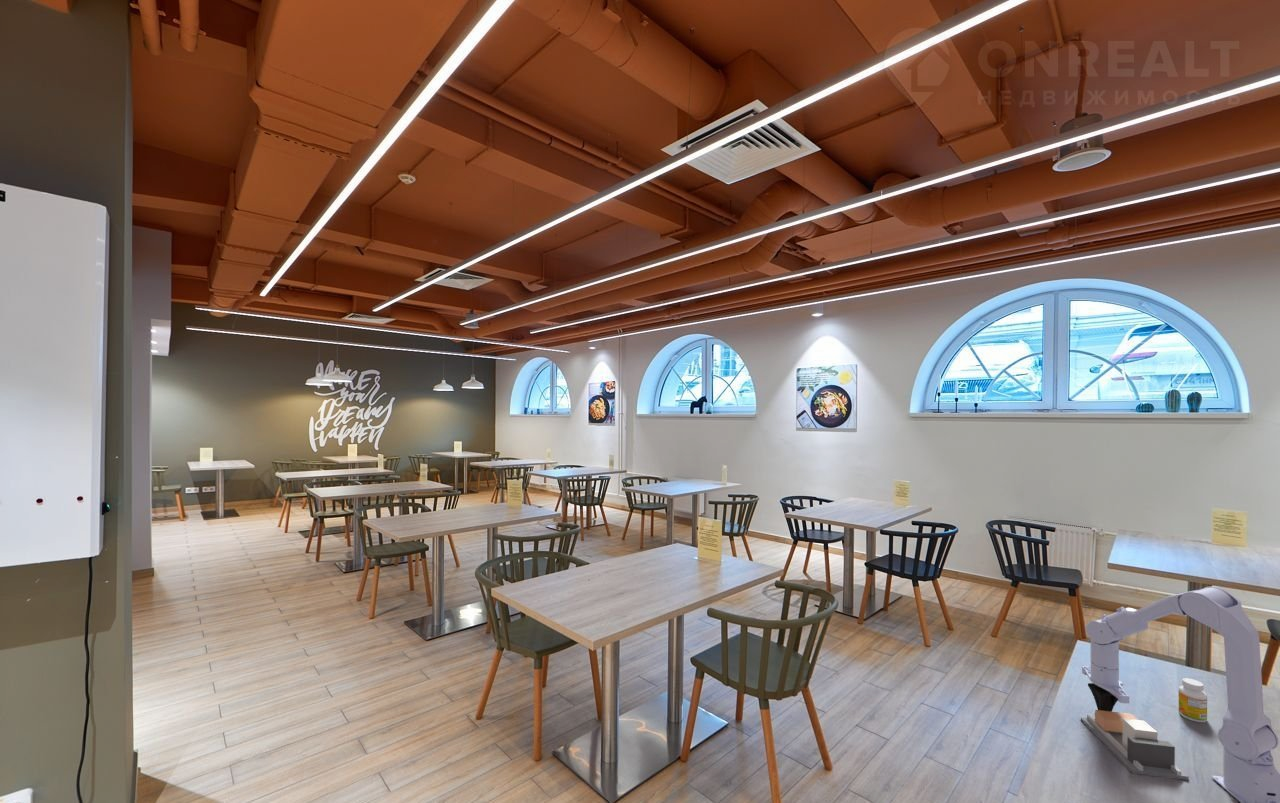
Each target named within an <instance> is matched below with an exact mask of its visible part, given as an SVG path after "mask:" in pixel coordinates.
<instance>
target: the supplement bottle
mask: <svg viewBox="0 0 1280 803" xmlns="http://www.w3.org/2000/svg"><path fill="white" fill-rule="evenodd" d="M1181 680H1182V685H1180V686H1179V687H1178V714H1179V715H1180V716H1182V717H1183V718H1185V719H1187V720H1190V721H1192V722H1196V723H1206V722H1208V694H1207V693H1206V692H1205V691H1204V688H1205V687H1204V686H1205V685H1204V683H1202V682H1201V681H1199V680H1196V679H1194V678H1187V677H1186V678H1182V679H1181Z"/></svg>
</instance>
